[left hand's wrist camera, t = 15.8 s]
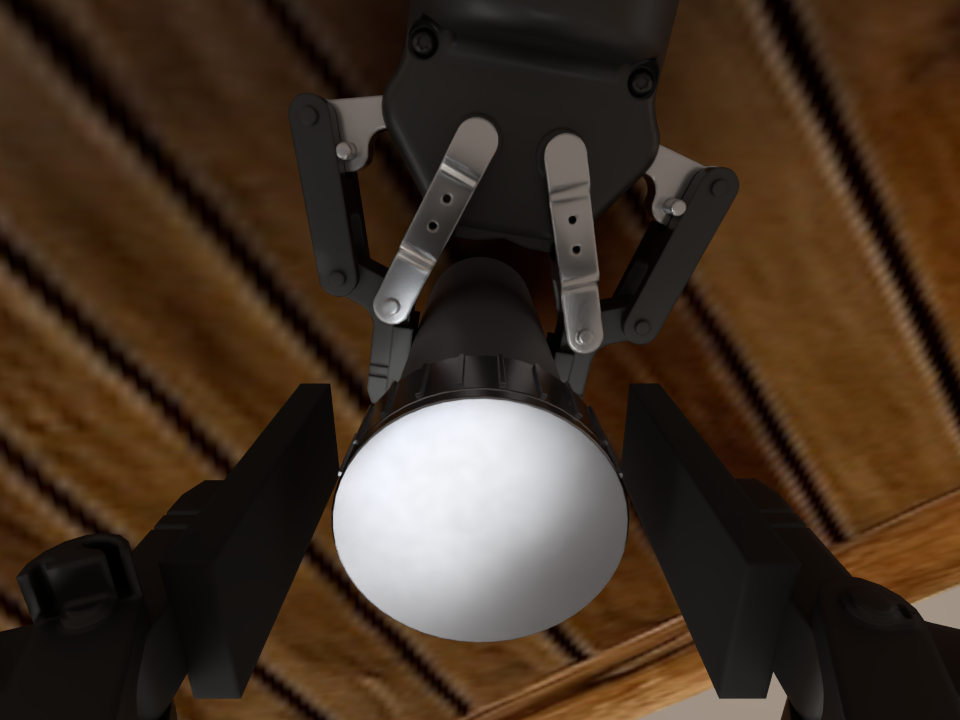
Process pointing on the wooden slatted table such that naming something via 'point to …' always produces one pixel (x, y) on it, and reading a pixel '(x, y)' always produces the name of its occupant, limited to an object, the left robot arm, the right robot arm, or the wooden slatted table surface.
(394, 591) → the lid
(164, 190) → the wooden slatted table surface
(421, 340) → the dark grey cylinder
